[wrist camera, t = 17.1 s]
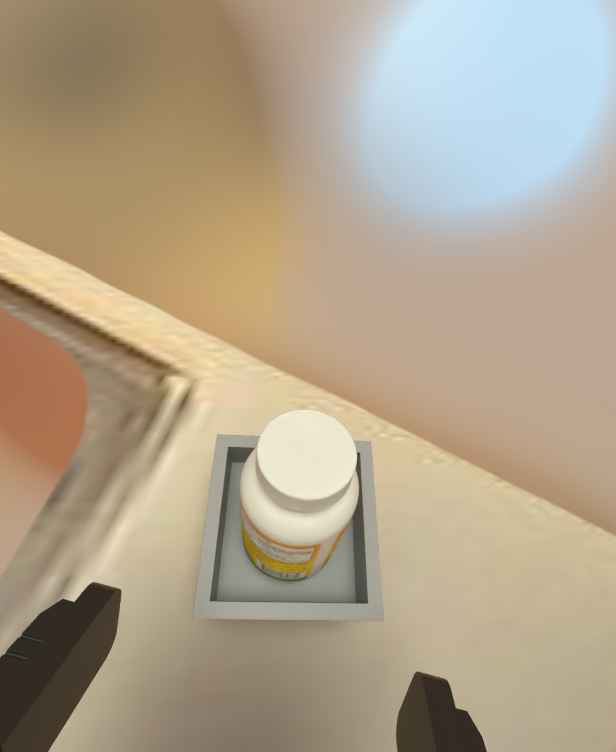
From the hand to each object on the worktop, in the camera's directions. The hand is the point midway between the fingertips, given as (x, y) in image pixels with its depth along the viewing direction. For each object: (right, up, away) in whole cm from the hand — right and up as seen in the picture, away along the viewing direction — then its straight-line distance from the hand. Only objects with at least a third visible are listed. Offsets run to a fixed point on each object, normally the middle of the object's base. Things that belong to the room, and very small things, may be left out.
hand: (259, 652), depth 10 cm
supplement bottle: (0, -2, +12) cm, 13 cm away
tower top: (0, -2, +14) cm, 14 cm away
